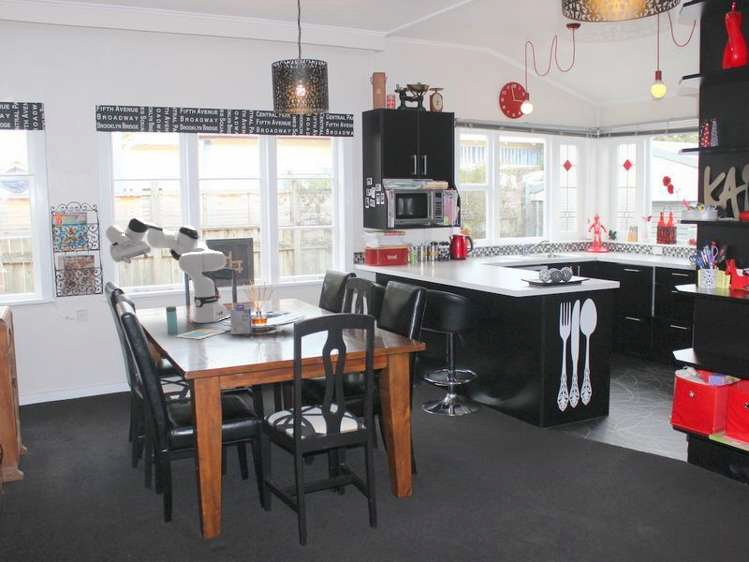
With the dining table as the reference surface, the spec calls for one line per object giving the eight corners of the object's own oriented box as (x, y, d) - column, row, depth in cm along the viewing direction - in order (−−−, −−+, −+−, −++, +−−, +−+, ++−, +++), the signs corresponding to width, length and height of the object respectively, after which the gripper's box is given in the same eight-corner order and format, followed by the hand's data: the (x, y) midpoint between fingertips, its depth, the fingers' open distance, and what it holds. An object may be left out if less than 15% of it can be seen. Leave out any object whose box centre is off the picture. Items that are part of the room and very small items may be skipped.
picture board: (200, 330, 383) (200, 328, 383) (225, 332, 374) (225, 330, 374) (174, 337, 366) (174, 336, 366) (199, 339, 358) (199, 338, 358)
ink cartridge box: (252, 331, 374) (250, 303, 372) (250, 333, 368) (248, 305, 366) (233, 332, 374) (231, 304, 372) (231, 334, 368) (229, 306, 366)
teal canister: (172, 332, 379) (170, 306, 377) (180, 333, 377) (178, 306, 375) (165, 334, 375) (163, 307, 373) (173, 335, 372) (170, 308, 371)
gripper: (143, 245, 393) (156, 258, 386) (107, 255, 381) (120, 270, 374) (143, 235, 390) (156, 249, 383) (107, 246, 377) (120, 260, 370)
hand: (138, 259), depth 378 cm, fingers open, 8 cm apart
